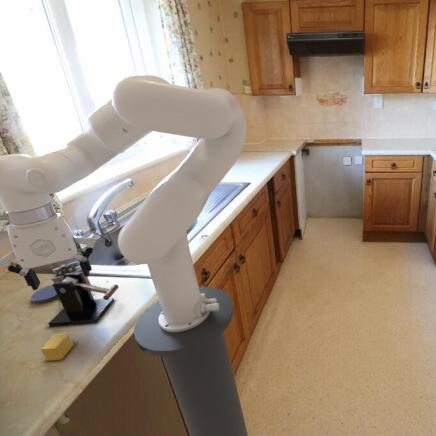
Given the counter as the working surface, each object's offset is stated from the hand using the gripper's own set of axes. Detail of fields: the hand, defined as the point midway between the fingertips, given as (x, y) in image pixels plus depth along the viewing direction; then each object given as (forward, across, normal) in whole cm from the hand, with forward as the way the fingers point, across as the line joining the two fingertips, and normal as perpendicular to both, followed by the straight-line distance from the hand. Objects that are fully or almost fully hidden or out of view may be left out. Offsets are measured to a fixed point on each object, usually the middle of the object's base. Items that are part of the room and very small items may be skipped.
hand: (63, 280), depth 75 cm
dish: (+16, -12, +25) cm, 32 cm away
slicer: (+16, -2, +9) cm, 19 cm away
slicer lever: (+9, +2, +8) cm, 12 cm away
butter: (+16, -5, -5) cm, 18 cm away
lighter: (+16, -5, +22) cm, 28 cm away
